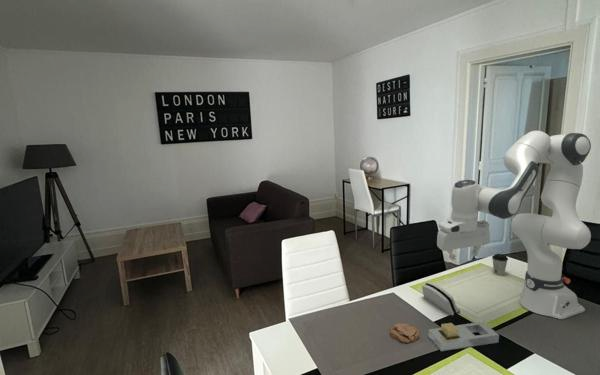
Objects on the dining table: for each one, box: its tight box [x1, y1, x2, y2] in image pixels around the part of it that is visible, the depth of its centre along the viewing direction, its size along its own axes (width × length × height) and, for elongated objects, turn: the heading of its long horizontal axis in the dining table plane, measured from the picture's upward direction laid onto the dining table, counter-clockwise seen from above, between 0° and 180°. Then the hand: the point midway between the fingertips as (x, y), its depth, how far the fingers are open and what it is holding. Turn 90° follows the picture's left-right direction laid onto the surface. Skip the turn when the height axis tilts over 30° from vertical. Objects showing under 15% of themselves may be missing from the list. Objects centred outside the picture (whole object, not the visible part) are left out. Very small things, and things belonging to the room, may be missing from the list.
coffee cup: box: [491, 253, 509, 277], centre depth 161 cm, size 7×7×10 cm
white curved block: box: [421, 281, 462, 316], centre depth 136 cm, size 17×5×10 cm, turn 19°
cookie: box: [389, 322, 420, 344], centre depth 118 cm, size 10×11×3 cm
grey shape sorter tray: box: [428, 321, 500, 352], centre depth 114 cm, size 22×8×3 cm, turn 98°
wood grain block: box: [440, 322, 458, 340], centre depth 113 cm, size 4×4×6 cm
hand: (463, 257), depth 122 cm, fingers open, 8 cm apart
